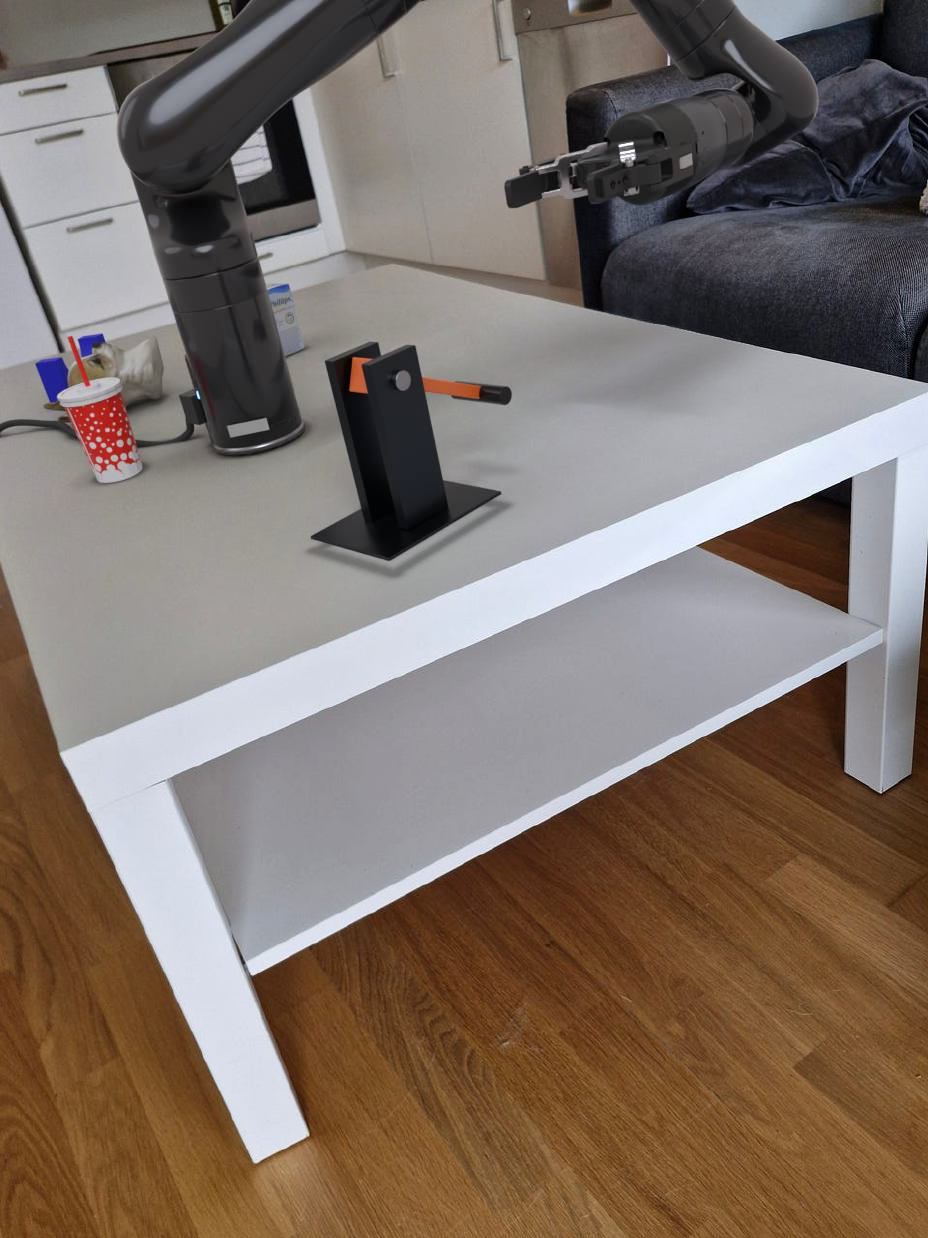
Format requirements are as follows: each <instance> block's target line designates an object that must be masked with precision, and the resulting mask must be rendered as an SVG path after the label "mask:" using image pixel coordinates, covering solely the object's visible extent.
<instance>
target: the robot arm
mask: <svg viewBox="0 0 928 1238" xmlns="http://www.w3.org/2000/svg"><path fill="white" fill-rule="evenodd" d="M421 1H422V0H249V2H248V3H247V4H246V5H245V6H244V7H243V9H242V10H241V11H240V12H239V13H238V14H237V15H236V16H235V17H234V18H233V19H232V21H230V23H228V24H227V25H226V26H225V27H224V28H223V29H221V30H220V31H219V32H218V33H217V34H216V35H214V36H212V37H211V38H210V39H209V40H208V41H206V42H204V44H202V45H200V46H199V47H198V48H196V49H195V50H194V51H192V52H191V53H189V54H188V55H186V56H185V57H184V58H182V59H180V60H179V61H178V62H176V63H174V64H173V65H171V66H170V67H168V68H167V69H165V70H164V71H162V72H160V73H159V74H158V75H155V76H153V77H152V78H150V79H148V80H145V81H143V82H142V83H140V84H138V85H136V87H134V88H133V89H132V90H131V91H130V92H129V93H128V94H127V96H126V97H125V99H124V100H123V103H122V104H121V106H120V108H119V112H118V115H117V121H116V140H117V145H118V148H119V153H120V155H121V157H122V159H123V161H124V164H125V165H126V167H127V169H128V170H129V173H130V176H131V180H132V183H133V186H134V189H135V192H136V195H137V198H138V202H139V206H140V208H141V211H142V215H143V218H144V222H145V226H146V228H147V232H148V237H149V240H150V243H151V248H152V251H153V255H154V258H155V261H156V265H157V267H158V270H159V273H160V277H161V278H162V282H163V286H164V289H165V292H166V295H167V299H168V302H169V305H170V308H171V311H172V314H173V318H174V320H175V323H176V327H177V330H178V333H179V336H180V340H181V342H182V346H183V350H184V352H185V354H184V362H185V364H186V367H187V370H188V374H189V377H190V380H191V384H192V386H193V389H189V390H188V391H185V392H182V393H180V394H178V398H179V400H180V403H181V407H182V410H183V413H184V416H185V418H184V419H185V427H186V429H185V430H184V431H183V432H182V433H181V434H180V435H178V436H177V437H175V438H172V439H168V440H162V441H152V440H142V439H135V442H136V445H137V448H148V447H156V446H162V445H170V444H174V443H175V444H176V443H182V442H186V441H187V440H189V439H190V438H192V436H193V434H194V433H195V425H196V426H202V425H205V427H206V430H207V434H208V437H209V440H210V443H211V444H212V446H213V448H214V449H213V450H214V451H215V452H216V453H217V454H219V455H225V456H243V455H251V454H255V453H261V452H265V451H268V450H271V449H275V448H278V447H280V446H282V445H286V444H287V443H289V442H290V441H293V440H294V439H296V438H298V437H299V436H300V435H301V434H302V433H304V431H305V428H306V427H305V426H306V425H305V422H304V419H303V418H302V415H301V412H300V407H299V404H298V400H297V396H296V392H295V388H294V385H293V380H292V376H291V373H290V369H289V366H288V362H287V358H286V357H285V354H284V350H283V347H282V343H281V339H280V335H279V332H278V328H277V324H276V320H275V317H274V313H273V309H272V306H271V302H270V298H269V294H268V291H267V287H266V284H267V283H266V280H265V276H264V273H263V269H262V265H261V262H260V258H259V256H258V255H259V253H258V251H257V246H256V243H255V239H254V235H253V231H252V228H251V225H250V222H249V219H248V214H247V211H246V208H245V205H244V201H243V199H242V195H241V191H240V188H239V184H238V179H237V177H236V173H235V169H234V164H233V162H232V158H233V157H234V156H235V155H236V154H237V152H238V151H240V149H241V148H242V147H243V146H244V145H245V144H246V143H247V142H248V141H249V140H250V138H251V137H252V136H254V134H255V133H256V132H257V131H258V130H259V129H260V128H261V127H263V125H264V124H265V123H266V122H267V121H268V120H269V119H270V118H271V117H273V115H275V113H277V112H278V111H279V110H280V109H281V108H283V107H284V106H285V105H286V104H287V103H288V102H290V101H291V100H293V99H294V98H296V97H297V96H298V95H300V94H301V93H303V92H305V91H306V90H308V89H309V88H310V87H312V86H314V85H316V84H317V83H318V82H320V81H321V80H323V79H325V78H326V77H328V76H330V75H331V74H333V72H335V71H336V70H338V69H339V68H341V67H343V66H344V65H345V64H347V63H348V62H349V61H351V60H352V59H354V58H355V57H356V56H357V55H358V54H360V53H361V52H362V51H364V50H365V49H366V48H368V47H369V46H370V45H372V44H373V43H374V42H376V41H377V40H378V39H379V38H381V37H382V36H383V35H384V34H385V33H386V32H388V31H389V30H390V29H391V28H392V27H394V26H395V25H396V24H397V23H398V22H399V21H400V20H402V19H403V18H404V17H405V16H407V15H408V14H409V13H410V12H411V11H412V10H413V9H414V8H416V6H417V5H418V4H419V3H420V2H421ZM627 1H628V3H629V5H630V6H631V7H632V8H633V9H634V11H635V12H636V13H637V15H638V17H640V19H641V20H642V21H643V23H644V24H645V25H646V27H647V28H648V30H649V31H650V32H651V34H652V35H653V36H654V38H655V39H656V40H657V42H658V44H660V46H661V47H662V49H663V50H664V52H666V54H667V55H668V57H669V58H670V59H671V61H672V62H673V64H674V65H675V66H676V67H677V68H678V70H679V71H680V72H681V74H682V75H683V76H684V77H685V78H686V79H687V80H689V81H690V82H693V83H699V82H703V81H706V80H709V79H711V78H714V77H716V76H720V75H730V76H734V77H736V78H737V79H739V80H741V81H740V82H738V83H737V84H735V85H734V86H732V87H731V88H727V87H726V88H725V87H718V88H709V89H706V90H702V91H700V92H696V93H694V94H690V95H688V96H680V97H672V98H668V99H665V100H663V101H659V102H657V103H653V104H651V105H647V106H644V107H641V108H637V109H635V110H632V111H629V112H626V113H624V114H622V115H620V116H619V117H617V118H616V119H615V120H614V121H613V122H612V123H611V125H610V126H609V127H608V129H607V130H606V133H605V134H604V136H603V137H604V138H603V139H602V142H599V143H595V144H589V145H588V146H587V147H586V148H585V149H582V150H577V151H572V152H569V153H566V152H562V153H560V154H559V155H557V156H553V157H550V158H548V159H545V160H544V159H543V160H541V161H538V162H536V163H533V164H529V165H527V164H526V165H523V166H522V167H520V168H518V174H519V175H518V176H514V177H513V178H512V177H511V178H510V179H507V180H505V182H504V184H503V187H504V196H505V201H506V206H507V208H509V209H518V208H521V207H524V206H527V205H529V204H532V203H534V202H535V203H536V202H537V201H538V202H542V201H545V199H549V198H552V197H553V198H554V197H558V196H560V198H562V199H564V200H572V199H577V198H582V197H586V196H587V200H588V202H589V204H591V205H597V204H598V205H600V204H602V203H604V202H608V201H609V200H613V199H614V198H619V199H620V200H621V201H623V202H625V203H627V204H630V205H632V206H633V205H634V206H647V205H650V204H653V203H655V202H657V201H660V200H662V199H664V198H667V197H669V196H671V195H674V194H676V193H678V192H681V191H683V190H686V189H688V188H690V187H693V186H695V185H697V184H698V183H700V182H701V181H702V180H704V179H705V178H707V177H709V176H712V175H714V174H716V173H719V172H721V171H723V170H726V171H727V170H737V169H740V168H742V167H744V166H747V165H749V164H751V163H752V162H753V163H754V162H755V161H757V160H758V159H760V158H762V157H764V156H765V155H767V154H768V153H769V152H771V151H773V150H774V149H775V148H777V147H779V146H781V145H782V144H783V143H785V142H786V141H788V140H791V139H792V138H793V137H795V136H797V135H798V134H799V133H801V132H803V131H805V129H807V128H808V127H809V126H810V125H811V124H812V123H813V122H814V119H815V118H816V116H817V114H818V110H819V91H818V87H817V84H816V81H815V79H814V77H813V76H812V73H811V72H810V70H809V69H808V68H807V66H805V64H804V63H803V62H802V61H801V60H800V59H799V58H798V57H797V56H795V55H794V54H793V53H792V52H790V51H789V50H787V49H786V48H785V47H783V46H782V45H781V44H779V43H778V42H777V41H775V39H773V38H771V36H769V35H768V34H767V33H766V32H764V31H763V30H762V29H761V28H759V27H758V26H757V25H755V23H753V22H752V21H751V20H750V19H748V18H747V17H746V16H745V15H744V14H743V12H742V11H741V10H740V8H739V7H738V6H737V4H736V3H735V1H734V0H627ZM574 161H577V162H574ZM574 177H576V181H577V184H578V186H579V188H575V189H572V187H571V185H574ZM13 427H38V428H55V429H60V430H63V431H64V432H65V433H66V434H68V436H70V437H73V438H75V439H78V437H77V434H76V432H75V430H74V428H73V427H71V426H70V425H68V424H67V423H63V422H58V421H57V420H46V419H44V420H43V419H30V418H29V419H28V418H20V419H18V418H17V419H9V420H6V421H3V422H1V423H0V434H1V433H2V432H3V431H5V430H7V429H9V428H13Z"/></svg>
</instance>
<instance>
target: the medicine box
mask: <svg viewBox="0 0 928 1238" xmlns="http://www.w3.org/2000/svg"><path fill="white" fill-rule="evenodd" d="M265 284H266V287H267V291H268V294H269V298H270V302H271V306H272V309H273V313H274V317H275V320H276V324H277V328H278V332H279V335H280V339H281V343H282V347H283V350H284V354H285V358H286V357H289V356H291V355H293V354H296V353H297V352H300V351H302V350H304V349H305V348H306V347H305V342H304V340H303V339H304V338H303V335H302V329H301V326H300V322H299V318H298V315H297V311H296V306H295V303H294V298H293V295H292V290H291V287H290V284H289V283H265Z"/></svg>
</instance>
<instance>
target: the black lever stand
mask: <svg viewBox="0 0 928 1238" xmlns="http://www.w3.org/2000/svg"><path fill="white" fill-rule="evenodd" d="M380 348H381V347H380V344H379V342H378V341H368V342H365V343H362V344H360V345H358V346H355V347H354V348H353V347H352V348H350V349H349V350H346V351H343V352H341V353H339V354H337V355H334V356H332V357H329V358H328V359H325V360H324V364H325V369H326V373H327V376H328V377H327V378H328V380H329V386H330V389H331V393H332V396H333V401H334V405H335V410H336V413H337V417H338V421H339V424H340V429H341V433H342V436H343V441H344V446H345V450H346V452H347V456H348V461H349V466H350V469H351V474H352V477H353V482H354V485H355V489H356V493H357V497H358V501H359V506H360V508H359V509H357V510H356V511H354V512H352V513H350V514H348V515H346V516H345V517H343V518H341V519H339V520H338V521H335V522H334V523H331V524H330V525H328V526H326V527H324V528H323V529H321V530H319V531H317V532H316V533H314V534H312V535H310V539H311V540H314V541H317V542H321V543H324V544H327V545H331V546H334V547H338V548H341V549H345V550H349V551H353V552H355V553H359V554H363V555H367V556H370V557H373V558H376V559H380V560H383V561H387V562H391V561H392V560H394V559H396V558H397V557H399V556H400V555H403V554H404V553H405V552H408V551H409V550H411V549H412V548H414V547H416V546H417V545H420V544H421V543H422V542H424V541H426V540H428V539H429V538H431V537H433V536H434V535H436V534H437V533H439V532H441V531H442V530H444V529H446V528H448V527H449V526H451V525H452V524H454V523H456V522H457V521H460V520H461V519H462V518H465V516H467V515H469V514H470V513H473V512H474V511H475V510H476V511H477V509H479V508H481V507H482V506H485V505H486V504H487V503H489V502H490V501H493V500H494V499H496V498H497V497H499V496H501V495H502V491H501V490H496V489H492V488H486V487H481V486H475V485H470V484H467V483H461V482H456V481H450V480H445V479H444V477H443V472H442V468H441V463H440V458H439V453H438V449H437V444H436V439H435V434H434V428H433V424H432V420H431V414H430V409H429V405H428V399H427V394H426V392H425V389H424V385H423V380H422V377H423V375H422V370H421V366H420V361H419V355H418V350H417V345H415V344H404V345H402V346H400V347H398V348H395V349H393V350H391V351H388V352H386V353H383V354H382V352H381V349H380ZM353 357H357V358H368V359H372V360H370V361H368V362H366V363H363V364H362V365H361V366H362V370H363V374H364V379H365V383H366V387H367V392H368V394H365V393H357V392H350V391H349V389H350V379H351V369H352V359H353Z"/></svg>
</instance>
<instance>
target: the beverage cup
mask: <svg viewBox="0 0 928 1238" xmlns="http://www.w3.org/2000/svg"><path fill="white" fill-rule="evenodd" d="M67 340H68V343H69V346H70V349H71V352H72V354H73V356H74V359H75V361H76V362H77V365H78V368H79V370H80V373H81V376H82V378H83V381H84V383H81V384H78V385H75V386H72V387H70V388H68V389H65V390H63V391H62V392H61V393H59V394H58V396H57V399H58V400H59V401H60V405H61V406H63V407H64V408H65V410H66V411H65V413H66V412H67V415H68V417H69V419H70V421H71V422H70V423H71V425H72V429H74V430H75V432H76V434H77V437H78V438H77V440H78V441H79V443H80V445H81V447H82V449H83V452H84V455H85V457H86V458H87V459H86V460H87V461H88V464H89V466H90V467H91V470H92V472H93V475H94V477H95V478H96V481H97V482H99V483H100V484H111V483H118V482H121V481H125V480H127V479H130V478H133V477H134V476H136V475H137V474H139V473H140V472H142V471H143V467H144V466H143V463H142V460H141V456H140V453H139V449H138V447H137V445H136V442H135V440H136V439H135V436H134V431H133V428H132V425H131V421H130V418H129V414H128V410H127V407H125V403H124V400H123V396H122V393H121V390H122V385H121V380H120V379H118V378H101V379H96V380H91V381H89V380H88V377H87V375H86V372H85V369H84V366H83V364H82V361H81V355H80V353H79V350H78V348H77V345H76V342H75V339H74V336H73V335H69V336H67Z"/></svg>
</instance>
